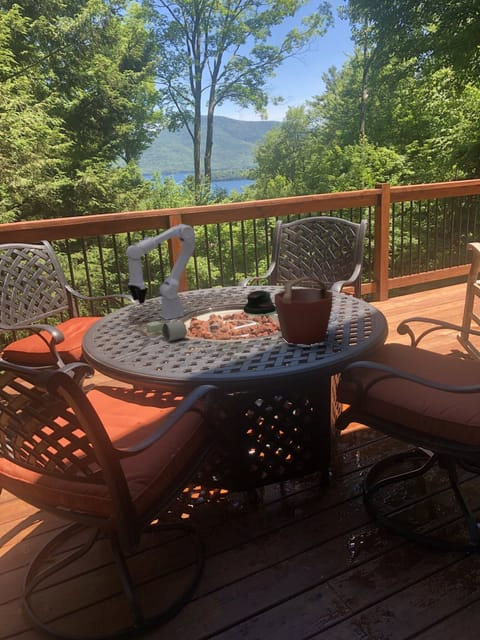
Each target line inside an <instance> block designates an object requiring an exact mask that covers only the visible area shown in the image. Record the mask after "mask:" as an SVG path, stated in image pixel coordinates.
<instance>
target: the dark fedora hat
mask: <svg viewBox="0 0 480 640" xmlns="http://www.w3.org/2000/svg"><path fill="white" fill-rule="evenodd" d="M246 298H247V302H246V304H245V305H244V306H243V310H242V311H243V313H246V315H247V316H252V317H253V316H254V317H259V316H260V317H261V316H263V317H264V316H271V315H275V314H277V311H276V306H275V304H274V302H273V301H272V298H271V292H270V291H267V290H253V291H251V292H250V293H248V294H247V297H246Z"/></svg>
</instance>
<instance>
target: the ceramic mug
mask: <svg viewBox="0 0 480 640" xmlns="http://www.w3.org/2000/svg"><path fill="white" fill-rule="evenodd" d="M187 333H188V332H187V326H186V323H185V322H183V321H179V320H177V321H170V322H164V323H162V334H161V335H162V337H163V339H164V341H165V342H168V343H169V342H172V341H177V340H180V339H183V338H185V337H186V336H187Z"/></svg>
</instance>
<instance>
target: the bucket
mask: <svg viewBox="0 0 480 640" xmlns="http://www.w3.org/2000/svg"><path fill="white" fill-rule="evenodd" d="M309 280H311V281H313V282H315V283H317V284H318V285H319V286H320V288H315V287H312V288H311V287H309V288H293V286H295V285H297V284H298V283H301V282H303V281H309ZM283 286H284V287H283V288H284V290H283V291H280V292H277V293H275V294H274V306H275V308H276V311H275V312H277V313H276V315H277V319H278V325H279V329H280V334H281V337H283V338H284V339H285V340H286V341H287V342H288V343H293V344H306V345H311V344H315V343H319V342H324V341H325V342H326V338H327V337H326V336H327V333H328V329H329V323H330V319H331V313H332V308H333V291H330V290H329V291H328V286H327V285H326V283H325V282H323V281H321V280H319V279H317V278H313V277H309V276H308V277H307V276H304V277H299V278H295V279H293V280H290V281H289V282H286V283H285V284H284V285H283Z"/></svg>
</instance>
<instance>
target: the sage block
mask: <svg viewBox="0 0 480 640" xmlns="http://www.w3.org/2000/svg"><path fill="white" fill-rule="evenodd" d="M145 324H146V332H147V333H153V332H158V331H162V326H163V323H161V322H159V321H152V322H148V323H147V322H146V323H145Z"/></svg>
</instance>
